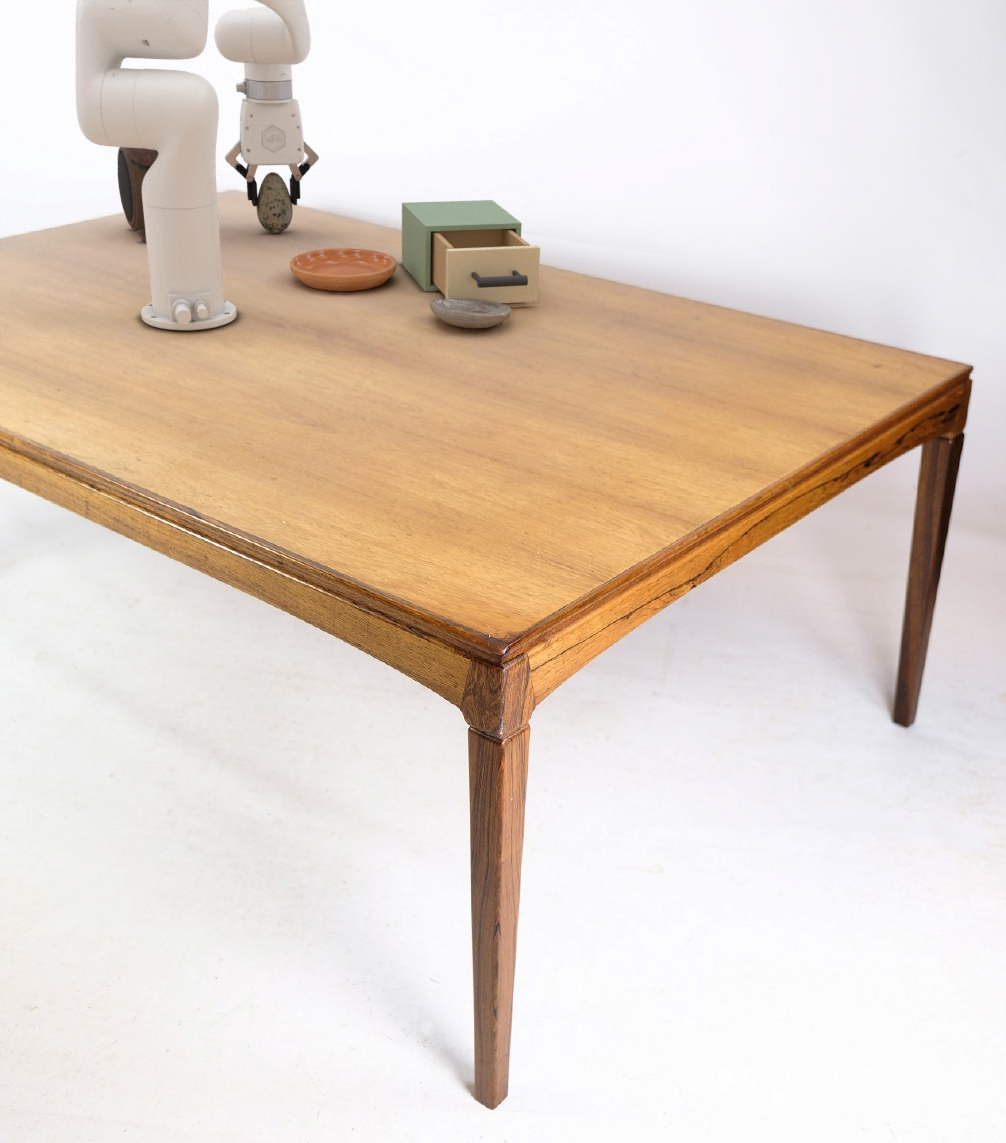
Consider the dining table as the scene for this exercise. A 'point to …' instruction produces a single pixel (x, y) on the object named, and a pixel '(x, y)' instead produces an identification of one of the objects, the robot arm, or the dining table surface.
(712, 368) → the dining table surface
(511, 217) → the cabinet
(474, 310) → the fossil
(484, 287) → the drawer
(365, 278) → the saucer
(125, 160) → the alarm clock
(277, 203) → the decorative egg
